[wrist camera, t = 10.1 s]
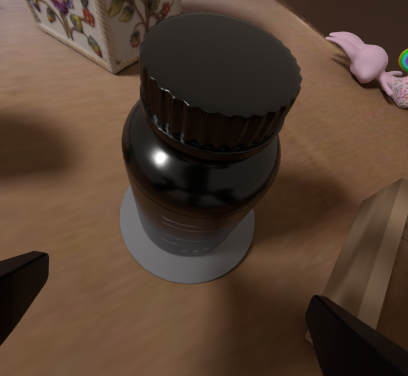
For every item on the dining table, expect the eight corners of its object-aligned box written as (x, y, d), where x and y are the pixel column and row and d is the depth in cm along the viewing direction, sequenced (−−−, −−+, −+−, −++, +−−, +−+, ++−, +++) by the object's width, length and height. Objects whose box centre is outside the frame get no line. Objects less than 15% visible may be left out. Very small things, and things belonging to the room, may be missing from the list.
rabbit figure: (409, 107, 32) (326, 40, 32) (464, 71, 27) (363, -8, 27) (401, 131, 29) (309, 56, 30) (461, 96, 24) (348, 6, 24)
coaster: (256, 289, 15) (259, 289, 15) (103, 277, 14) (102, 276, 14) (249, 168, 20) (251, 165, 20) (136, 152, 19) (135, 149, 19)
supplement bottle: (138, 175, 18) (105, -20, 7) (222, 172, 19) (294, 4, 9) (139, 266, 15) (84, 148, 4) (240, 254, 16) (382, 145, 6)
